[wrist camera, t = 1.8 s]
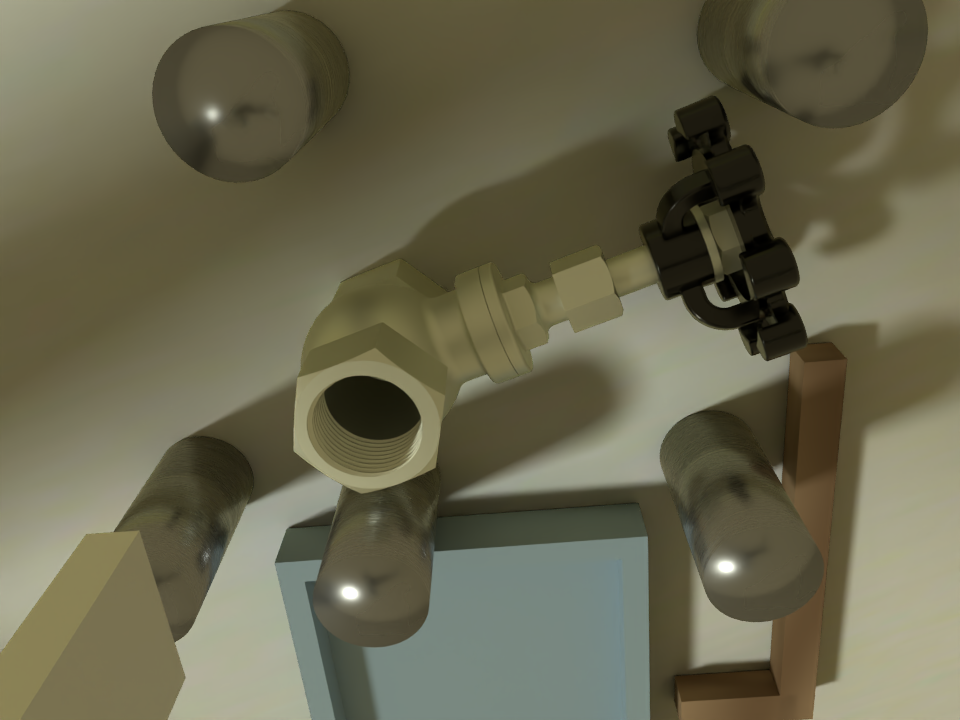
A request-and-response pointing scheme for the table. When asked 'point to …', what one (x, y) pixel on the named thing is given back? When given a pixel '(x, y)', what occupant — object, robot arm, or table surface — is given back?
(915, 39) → the spacers
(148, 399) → the table surface
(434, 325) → the valve
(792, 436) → the hook tool
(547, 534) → the tray
